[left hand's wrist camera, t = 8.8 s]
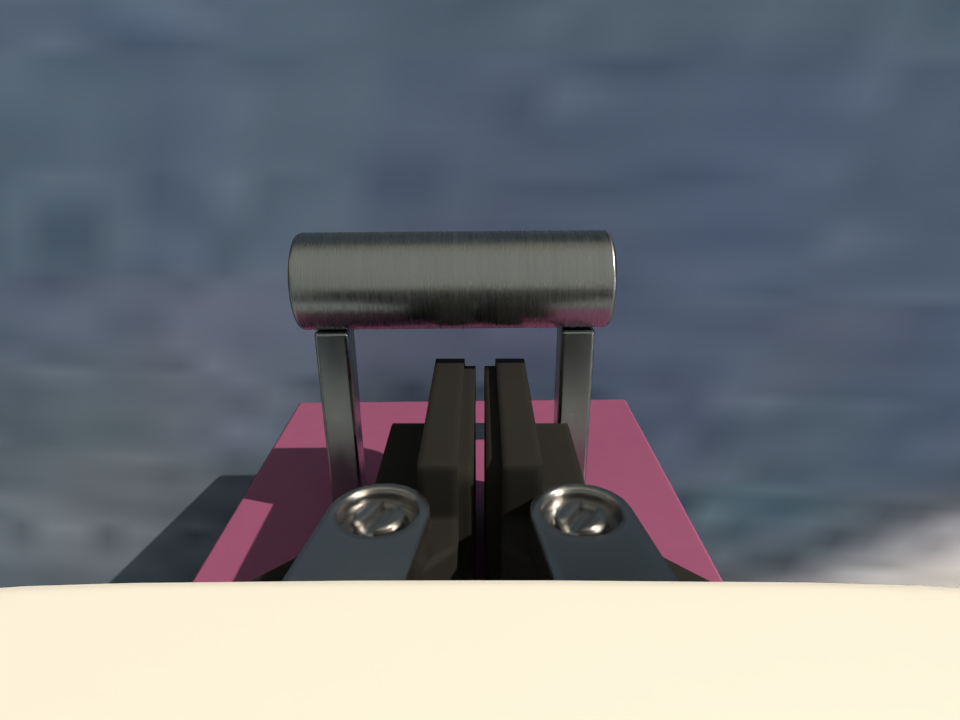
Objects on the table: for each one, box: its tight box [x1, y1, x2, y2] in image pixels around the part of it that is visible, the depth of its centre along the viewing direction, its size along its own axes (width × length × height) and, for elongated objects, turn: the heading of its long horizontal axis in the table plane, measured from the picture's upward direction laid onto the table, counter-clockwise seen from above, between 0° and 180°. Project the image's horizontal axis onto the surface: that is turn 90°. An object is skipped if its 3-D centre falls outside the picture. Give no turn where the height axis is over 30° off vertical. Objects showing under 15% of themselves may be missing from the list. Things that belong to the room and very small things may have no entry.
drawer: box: [192, 230, 723, 582], centre depth 16 cm, size 23×9×8 cm, turn 0°
